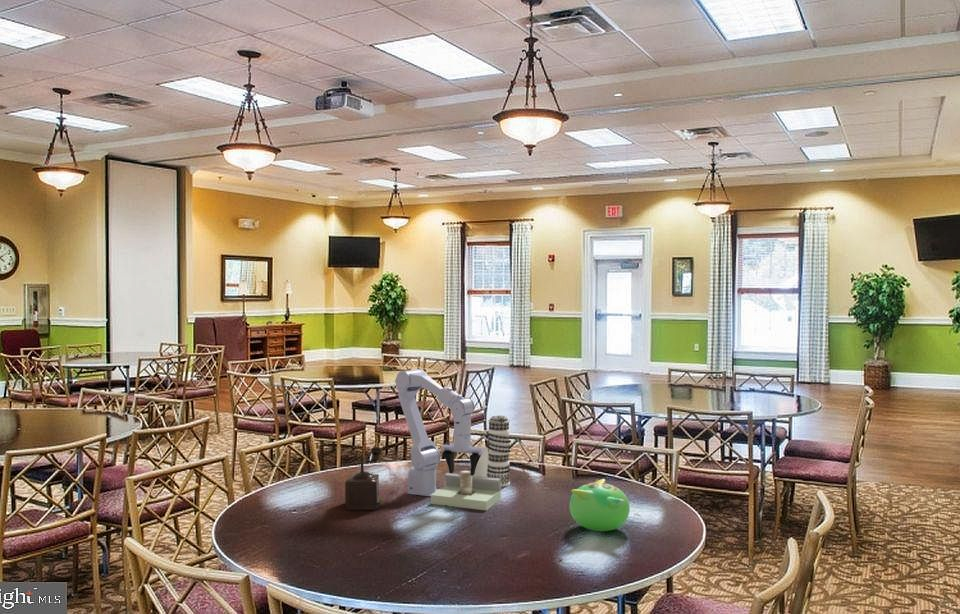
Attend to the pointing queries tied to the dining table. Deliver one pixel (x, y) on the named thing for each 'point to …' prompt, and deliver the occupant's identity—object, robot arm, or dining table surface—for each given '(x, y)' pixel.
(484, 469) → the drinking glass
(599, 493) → the toy bird
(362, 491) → the pepper mill
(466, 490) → the peg
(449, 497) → the socket board
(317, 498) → the dining table surface
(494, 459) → the decorative candle
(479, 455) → the robot arm
